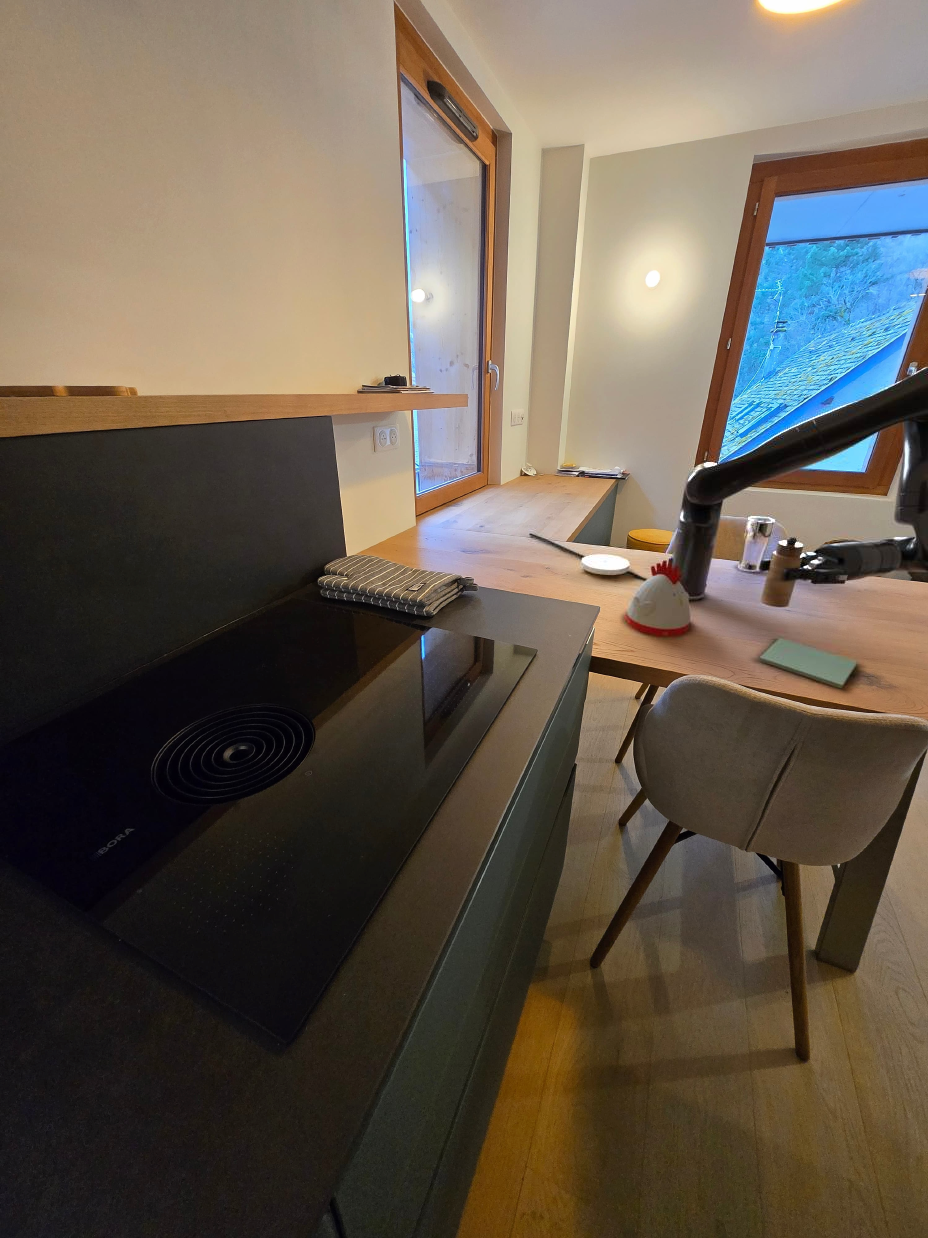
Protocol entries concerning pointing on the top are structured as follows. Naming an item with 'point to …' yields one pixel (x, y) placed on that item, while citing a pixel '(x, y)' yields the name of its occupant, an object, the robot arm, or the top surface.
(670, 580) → the kitchen timer
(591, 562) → the plastic lid
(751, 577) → the top surface
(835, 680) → the rubber mat
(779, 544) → the pepper mill
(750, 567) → the beer glass
